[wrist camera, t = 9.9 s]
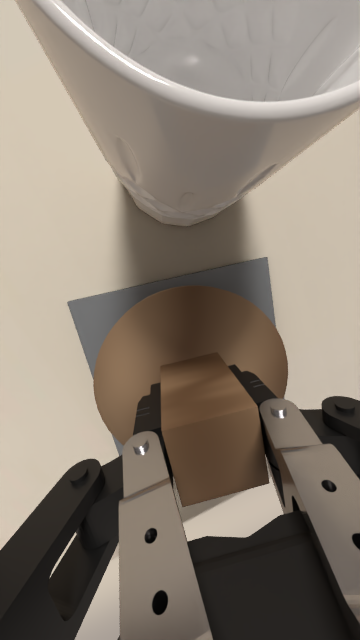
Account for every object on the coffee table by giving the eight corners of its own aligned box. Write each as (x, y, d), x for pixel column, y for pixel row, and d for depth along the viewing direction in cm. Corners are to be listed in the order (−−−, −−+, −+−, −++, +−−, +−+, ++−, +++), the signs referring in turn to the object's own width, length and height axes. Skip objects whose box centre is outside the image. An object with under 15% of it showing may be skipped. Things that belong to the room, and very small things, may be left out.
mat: (264, 257, 13) (267, 256, 13) (284, 422, 16) (287, 426, 16) (70, 301, 13) (67, 301, 12) (124, 464, 15) (123, 469, 15)
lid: (269, 265, 12) (367, 258, 6) (288, 431, 14) (372, 533, 9) (71, 310, 11) (-14, 346, 6) (126, 474, 14) (104, 611, 8)
